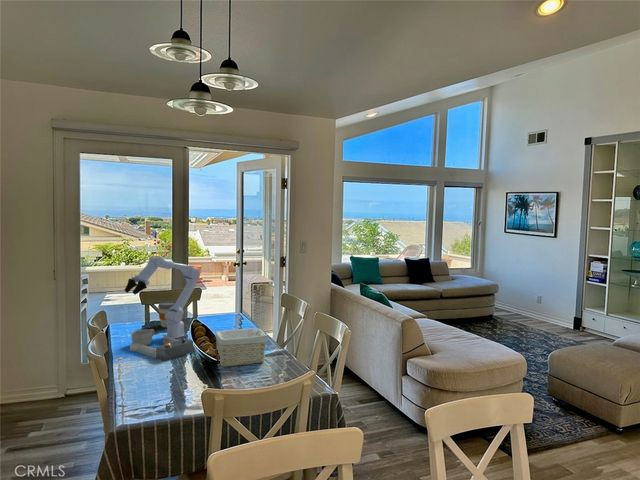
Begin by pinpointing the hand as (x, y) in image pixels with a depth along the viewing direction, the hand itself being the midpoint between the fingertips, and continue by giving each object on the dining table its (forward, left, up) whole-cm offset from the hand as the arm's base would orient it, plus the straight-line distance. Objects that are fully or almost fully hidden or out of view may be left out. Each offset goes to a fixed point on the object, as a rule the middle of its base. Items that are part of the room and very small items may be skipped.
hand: (129, 292), depth 233 cm
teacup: (-8, +1, -31) cm, 32 cm away
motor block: (-8, +19, -31) cm, 37 cm away
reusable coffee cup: (-42, -23, -31) cm, 57 cm away
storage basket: (-22, +63, -31) cm, 73 cm away
